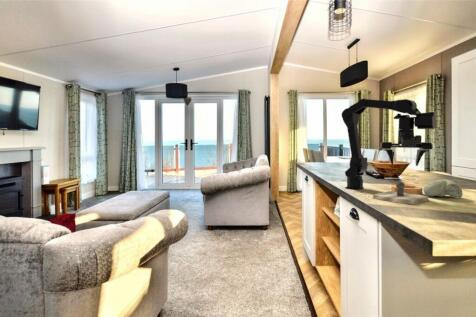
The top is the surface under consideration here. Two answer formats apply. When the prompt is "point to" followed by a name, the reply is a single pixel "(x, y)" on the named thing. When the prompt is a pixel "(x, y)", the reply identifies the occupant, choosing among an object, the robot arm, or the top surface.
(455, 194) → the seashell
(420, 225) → the top surface
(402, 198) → the hook stand
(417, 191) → the orange ring
